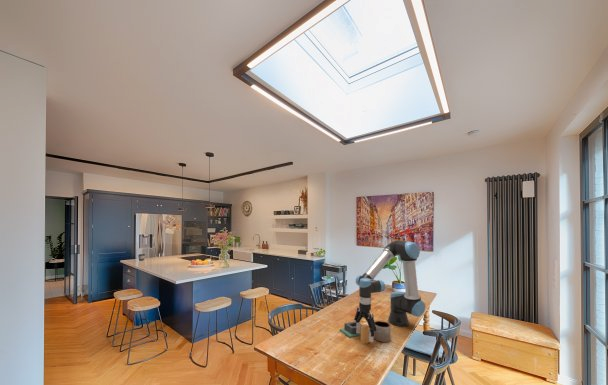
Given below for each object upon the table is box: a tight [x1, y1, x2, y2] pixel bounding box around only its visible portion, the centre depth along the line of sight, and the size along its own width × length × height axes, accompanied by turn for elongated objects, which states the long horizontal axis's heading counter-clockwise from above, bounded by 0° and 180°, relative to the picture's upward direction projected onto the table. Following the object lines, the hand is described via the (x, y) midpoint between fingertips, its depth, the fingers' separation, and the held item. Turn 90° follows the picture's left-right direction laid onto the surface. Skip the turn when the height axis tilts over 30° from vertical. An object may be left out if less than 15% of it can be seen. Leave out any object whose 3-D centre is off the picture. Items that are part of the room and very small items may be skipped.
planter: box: [373, 320, 391, 343], centre depth 172 cm, size 11×11×10 cm
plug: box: [359, 324, 370, 345], centre depth 167 cm, size 4×3×10 cm, turn 116°
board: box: [339, 320, 370, 339], centre depth 181 cm, size 20×12×5 cm, turn 116°
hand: (364, 337), depth 167 cm, fingers open, 12 cm apart
